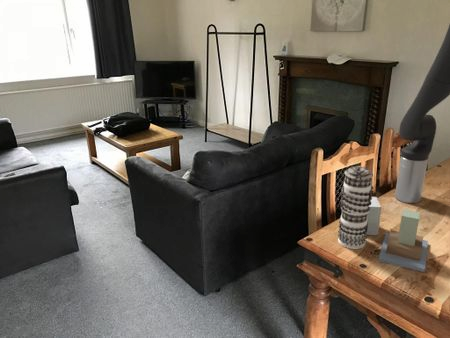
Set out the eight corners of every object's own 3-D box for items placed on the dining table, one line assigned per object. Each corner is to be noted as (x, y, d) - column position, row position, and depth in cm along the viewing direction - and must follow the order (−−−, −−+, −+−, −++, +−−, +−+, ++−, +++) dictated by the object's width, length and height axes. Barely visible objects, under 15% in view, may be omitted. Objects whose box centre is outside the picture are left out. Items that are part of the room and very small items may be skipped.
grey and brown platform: (385, 234, 119) (387, 224, 118) (427, 243, 114) (429, 232, 112) (378, 260, 106) (380, 249, 105) (424, 272, 101) (427, 260, 99)
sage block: (398, 235, 111) (402, 209, 108) (415, 238, 109) (419, 212, 106) (397, 242, 108) (401, 215, 105) (414, 246, 106) (419, 219, 102)
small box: (378, 236, 119) (381, 207, 115) (360, 234, 120) (363, 206, 116) (373, 223, 126) (377, 196, 122) (356, 222, 127) (359, 195, 123)
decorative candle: (373, 243, 115) (382, 169, 106) (353, 253, 110) (361, 177, 101) (350, 231, 122) (357, 161, 113) (330, 239, 118) (336, 167, 109)
